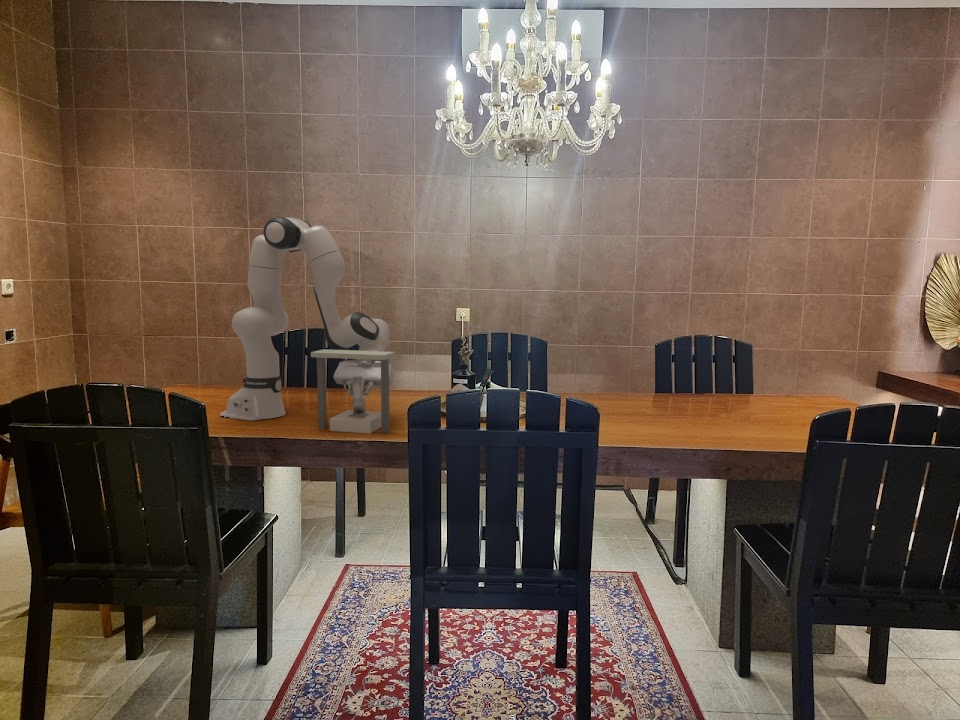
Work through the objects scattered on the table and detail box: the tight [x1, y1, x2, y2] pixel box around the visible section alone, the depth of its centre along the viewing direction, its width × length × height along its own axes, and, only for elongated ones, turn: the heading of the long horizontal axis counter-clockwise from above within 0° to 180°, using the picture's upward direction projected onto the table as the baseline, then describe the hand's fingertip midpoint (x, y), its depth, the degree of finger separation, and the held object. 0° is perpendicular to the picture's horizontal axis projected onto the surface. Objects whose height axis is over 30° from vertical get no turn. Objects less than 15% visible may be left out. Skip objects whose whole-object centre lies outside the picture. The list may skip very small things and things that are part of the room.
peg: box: [351, 376, 366, 414], centre depth 212 cm, size 4×4×12 cm
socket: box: [329, 409, 382, 434], centre depth 213 cm, size 14×14×4 cm
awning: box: [310, 349, 396, 434], centre depth 208 cm, size 25×9×26 cm, turn 77°
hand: (357, 394), depth 211 cm, fingers closed on peg, 4 cm apart
